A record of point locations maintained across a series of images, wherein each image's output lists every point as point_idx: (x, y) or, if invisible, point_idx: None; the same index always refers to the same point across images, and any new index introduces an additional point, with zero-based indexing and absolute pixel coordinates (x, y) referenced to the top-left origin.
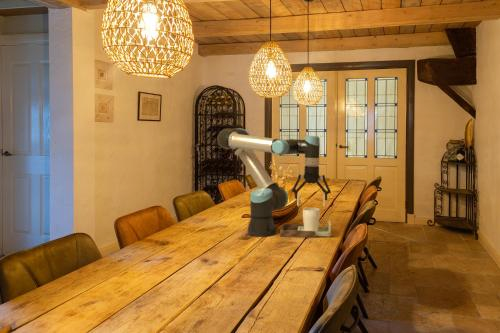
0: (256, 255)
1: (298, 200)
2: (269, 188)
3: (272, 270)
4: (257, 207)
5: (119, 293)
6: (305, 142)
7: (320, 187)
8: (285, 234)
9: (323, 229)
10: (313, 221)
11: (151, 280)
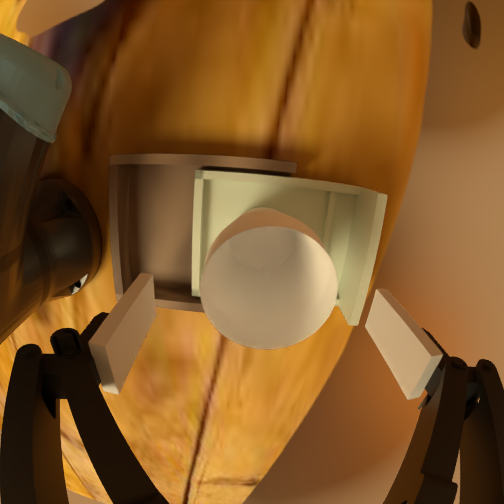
0: (124, 436)
1: (141, 344)
2: None
3: (177, 480)
4: None
5: (64, 474)
6: None
7: (406, 463)
8: None
9: (329, 227)
10: (274, 304)
11: None
